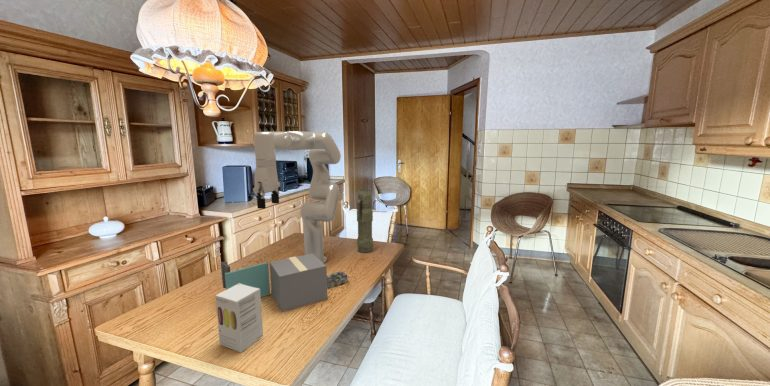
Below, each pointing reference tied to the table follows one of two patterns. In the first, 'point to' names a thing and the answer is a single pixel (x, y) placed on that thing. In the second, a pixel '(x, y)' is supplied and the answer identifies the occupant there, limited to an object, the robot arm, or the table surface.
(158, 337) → the table surface
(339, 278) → the egg carton
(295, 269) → the carton
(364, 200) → the thermos
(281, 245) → the table surface
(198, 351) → the table surface
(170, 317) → the table surface
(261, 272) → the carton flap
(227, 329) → the supplement box
